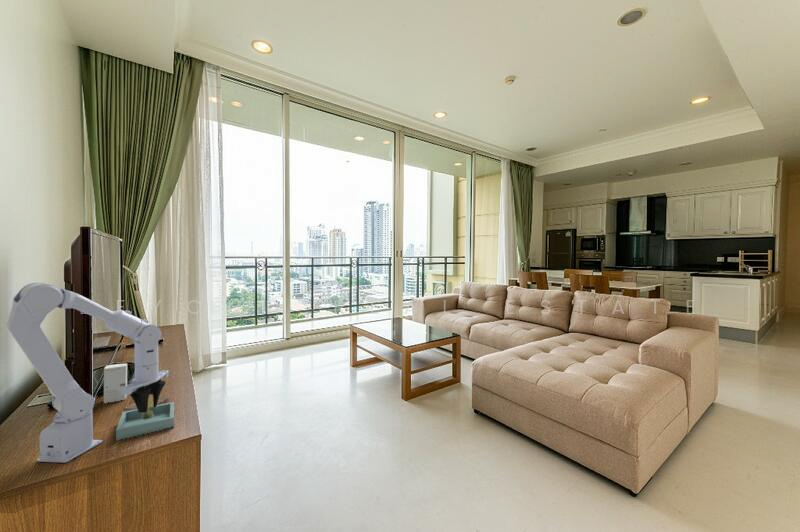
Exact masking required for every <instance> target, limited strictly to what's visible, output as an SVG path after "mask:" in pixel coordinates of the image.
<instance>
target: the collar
mask: <svg viewBox="0 0 800 532" xmlns="http://www.w3.org/2000/svg"><path fill="white" fill-rule="evenodd" d="M169 399H170V398H169V397H159V398H158V402H157V405H161V404H166V403H170V400H169ZM135 409H137V406H136V404H135V402H133V403H131V404H129V405H127V406H125V407H123V412H125V411H130V410H135Z"/></svg>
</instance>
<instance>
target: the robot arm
mask: <svg viewBox="0 0 800 532" xmlns="http://www.w3.org/2000/svg"><path fill="white" fill-rule="evenodd" d="M56 308H59V309H74V310H77V311H78V312H81V313H84V314H86V315H89V316H91V317H94V318H96V319H99V320H101V321H103V322H104V325H105V328H106V329H107V330H110V331H112V332H115V333H117V334H120V335H121V336H124V337H127V338H129V339H131V341H133V342H134V343H133V344H134V356H133V357H134V378H133V379H132V381H131V382H130V383H127V386H125V387H123V388H122V395H127V396H128V395H129V396H130V397H131V398H132V400H133V401H134V402H133V403H135V404H136V406H137V409H138V412H143V413H145V412H147V408H148V398H149V394H150V392H153V393H154V407H156V406H157V402H158V398H160V395H161V392H162V391H163V389H164V387H165V385H166V381H165V380H162V379H165V378H166V379H167V378H168V377H170V376H169V375H170V374H169V372H170V371H169V370H160V369H159V367H160V365H159V363H160V362H159V357H160V356H159V341H160V340H161V338H162V335H163V333H162V332H161V329H160V328H159V327H158V326H157V325H155V324H152V323H148V319H144V318H142V319H141V318H139V317H138V316H135V315H133V314H132V313H133V312H132V311H130V310H128V309H127V310H123V309H118V310H114V311H112V310H110V309H108V308H106V307H105V306H103V305H101V304H99V303H97V302H95V301H93V300H91V299H89V298H87V297H85V296H83V295H81V294H79V293H77V292H74V291H71V290H67V289H64V288H60V287H58V286H57V285H55V284H49V283H44V282H32V283H28V284H25V285H23V287H22V288H21V289H19V291H18V292H17V293H16V294H15V295H14V297H13V299H12V306H11V309H10V313H9V316H8V319H7V324H6V327H7V330H8V331H9V332H10V334H11V335H12V337H13V338H14V340H15V341H16V344H18V346H19V347H20V349H21V350H22V352H23V353H24V354H25V356H26V358H28V361H29V362H30V363H31V365H32V366H33V368H34V369H35V371H36V372H37V374H38V375H39V377H40V378H41V380H42V381H43V382H44V384H45V385H46V387H47V388H48V391H49V393H50V394H51V397H52V400H51V404H52V407H53V408H54V409H55V410H57V412H56V414H55V415H54V416H53V421H52V422H51V424H49V425H48V426H47V427H45V428H43V429H42V430H41V432H40V434H39V438H38V439H39V440H38V441H39V444H38V445H39V457H38V458H37V459H36V461H37V462H41V463H42V462H43V463H44V462H47V463H63V464H64V463H68V462H70V461H72V460H74V458H76V457H77V458H78V457H79V456H80V455H82V454H84V453H86V452H88V451H89V450H91V449H93V448H95V447H96V446H98V445H100V444H101V443H103V440H102V439H94V431H93V429H94V425H93V424H94V423H93V422H94V421H93V419H94V417H93V409H94V406H95V398H94V397H93V395H91V394H90V393H87V392H86V391H84V389H83V388H82V387H81V386H80V384H78V383H77V381H76V380H75V379H74V377H73V376H72V374H71V373H70V371H69V369H68V368H67V367H66V365H65V364H64V362H63V360H62V359H61V357H60V355H59V354H58V353H57V351H56V350H55V348H54V346H53V345H52V342H50V340H49V338H48V337H47V336H46V333H45V332H44V331H43V329H42V328H41V324H42V323H43V321H45V318H46V317H47V315H48V314H49V313H51V312H52V311H53V310H55V309H56Z"/></svg>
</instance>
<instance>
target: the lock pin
mask: <svg viewBox="0 0 800 532" xmlns="http://www.w3.org/2000/svg"><path fill="white" fill-rule="evenodd" d="M152 417H154V393H153V392H150V394H149V398H148V408H147V412H145V413H143V412H141V419H143V420H145V419H150V418H152Z"/></svg>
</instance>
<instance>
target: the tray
mask: <svg viewBox="0 0 800 532" xmlns="http://www.w3.org/2000/svg"><path fill="white" fill-rule="evenodd" d="M171 427H175V402H174V401H171V402H168V403H166V404H161V405H157V406H156V407H154V417H152V418H150V419H145V420H143V419H141V412H138V409H135V410H130V411H125V412H124V411H122V412H121V416H120V417H119V421H118V424H117V426H116V430H115V436H116V438H115V439H116V442H118V441H122V440H121V439H123V440H126V439H125V438H127V439H129V438H128V437H131V438H134V437H133V436H136V437H138V436H137V435H140V436H143V435H142V434H144V435H147V433H149V434H152V433H151V432H153V433H156V432H155V431H157V432H160V431H159V430H161V431H164V430H163V429H166V428H170V429H172V428H171ZM166 430H167V429H166Z"/></svg>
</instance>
